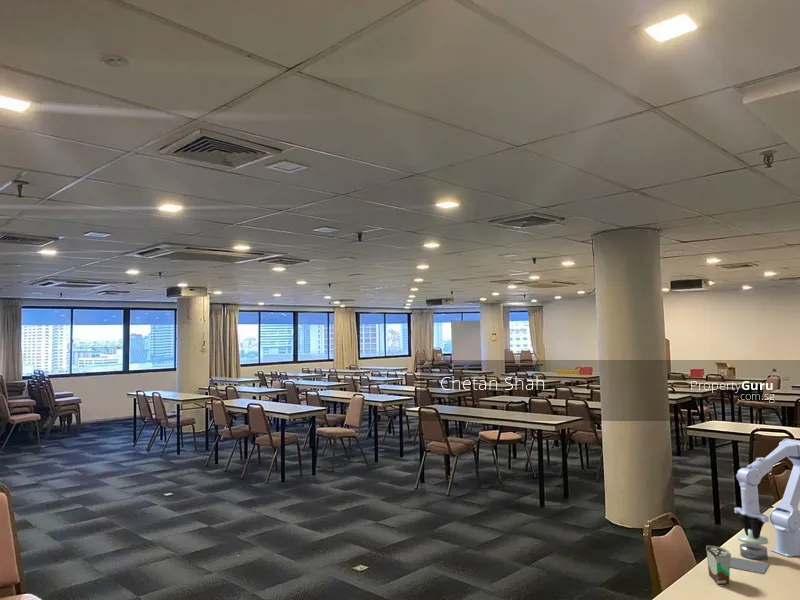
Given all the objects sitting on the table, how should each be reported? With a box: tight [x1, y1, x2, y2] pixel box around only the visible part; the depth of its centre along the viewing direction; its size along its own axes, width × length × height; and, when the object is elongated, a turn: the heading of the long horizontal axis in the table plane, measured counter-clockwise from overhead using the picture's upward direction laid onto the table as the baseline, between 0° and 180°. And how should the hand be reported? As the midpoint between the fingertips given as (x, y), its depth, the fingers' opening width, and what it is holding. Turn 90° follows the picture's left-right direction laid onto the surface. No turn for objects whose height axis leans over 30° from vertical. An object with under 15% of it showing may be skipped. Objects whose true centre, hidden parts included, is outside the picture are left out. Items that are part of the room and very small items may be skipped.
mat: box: [730, 556, 770, 575], centre depth 217 cm, size 12×12×1 cm
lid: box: [737, 529, 769, 546], centre depth 227 cm, size 10×10×4 cm
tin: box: [739, 542, 769, 561], centre depth 227 cm, size 9×9×4 cm
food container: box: [705, 545, 732, 586], centre depth 203 cm, size 12×6×10 cm, turn 168°
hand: (752, 536), depth 227 cm, fingers closed on lid, 3 cm apart
